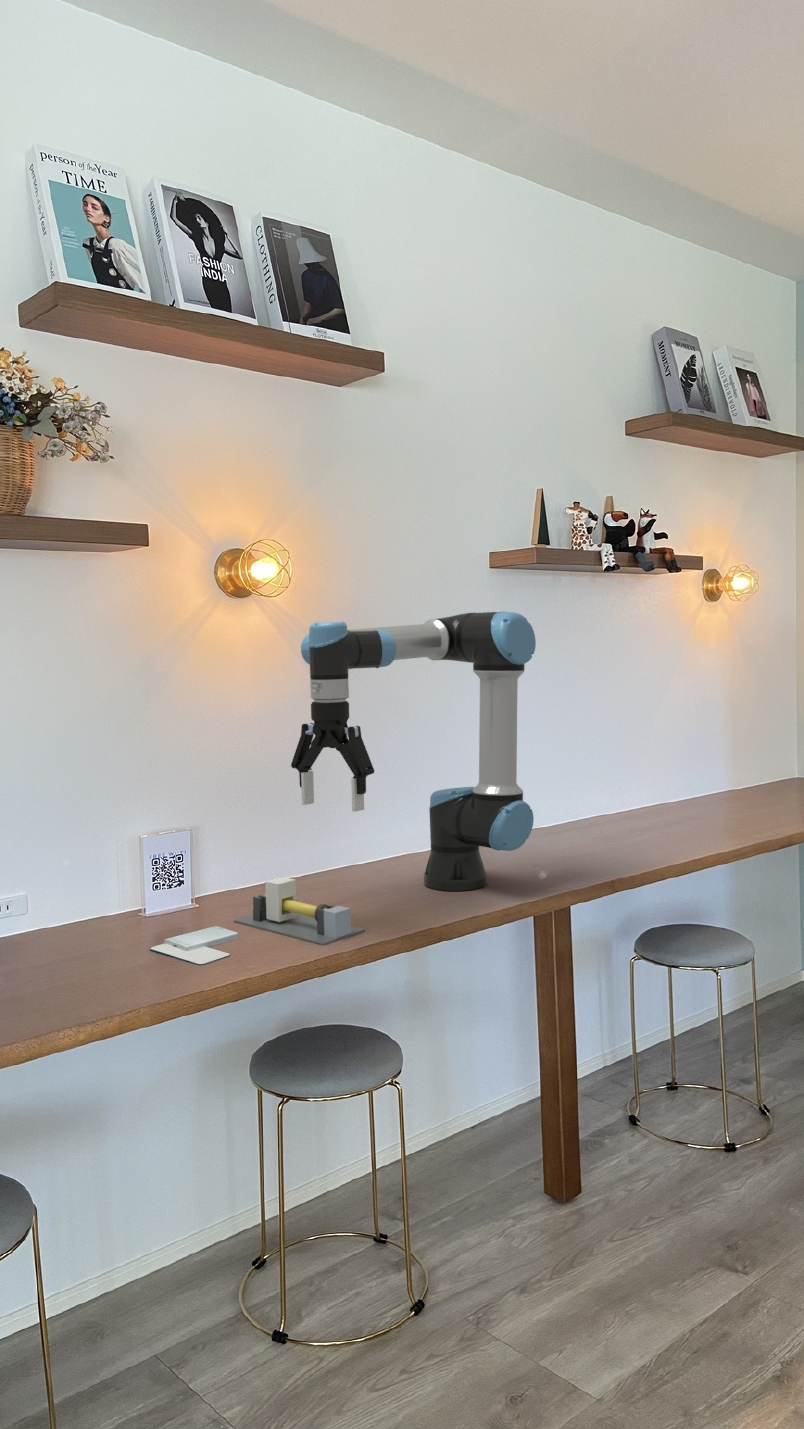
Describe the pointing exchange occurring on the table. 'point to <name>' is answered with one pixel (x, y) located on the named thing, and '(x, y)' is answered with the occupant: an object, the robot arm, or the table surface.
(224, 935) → the hard drive
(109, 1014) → the table surface
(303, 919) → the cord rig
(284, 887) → the sleeve
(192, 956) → the smartphone
